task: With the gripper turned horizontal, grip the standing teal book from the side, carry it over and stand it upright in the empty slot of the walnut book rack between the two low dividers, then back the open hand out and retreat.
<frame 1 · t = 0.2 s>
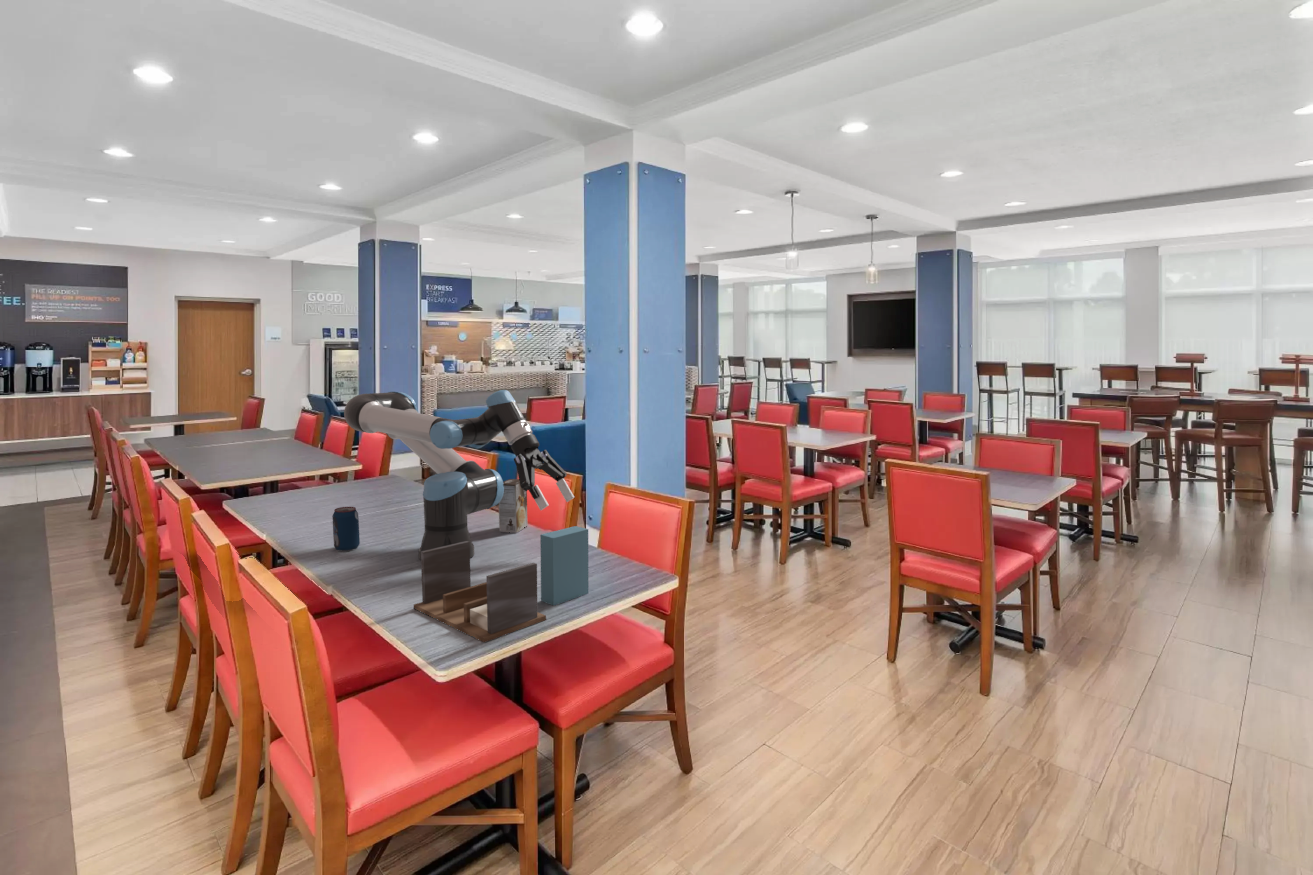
hand: (558, 503, 192), 16 cm above the table, tool tilted 35°, fingers open, 13 cm apart
book: (565, 597, 163), on the table
coffee box: (513, 529, 225), on the table
soda can: (347, 549, 201), on the table
book rack: (478, 614, 152), on the table
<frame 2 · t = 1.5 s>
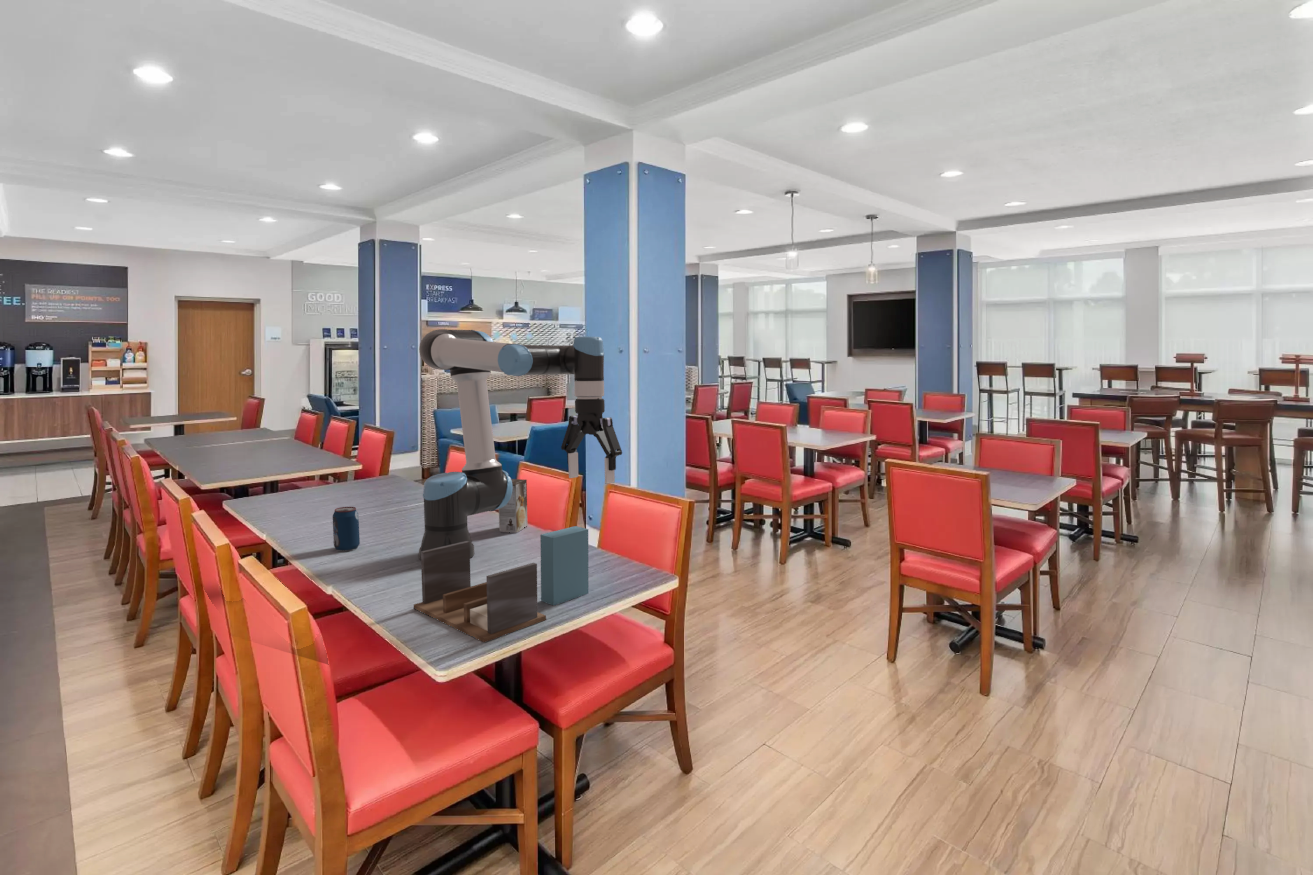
hand: (591, 480, 176), 25 cm above the table, tool pointing down, fingers open, 13 cm apart
nothing on the table moved.
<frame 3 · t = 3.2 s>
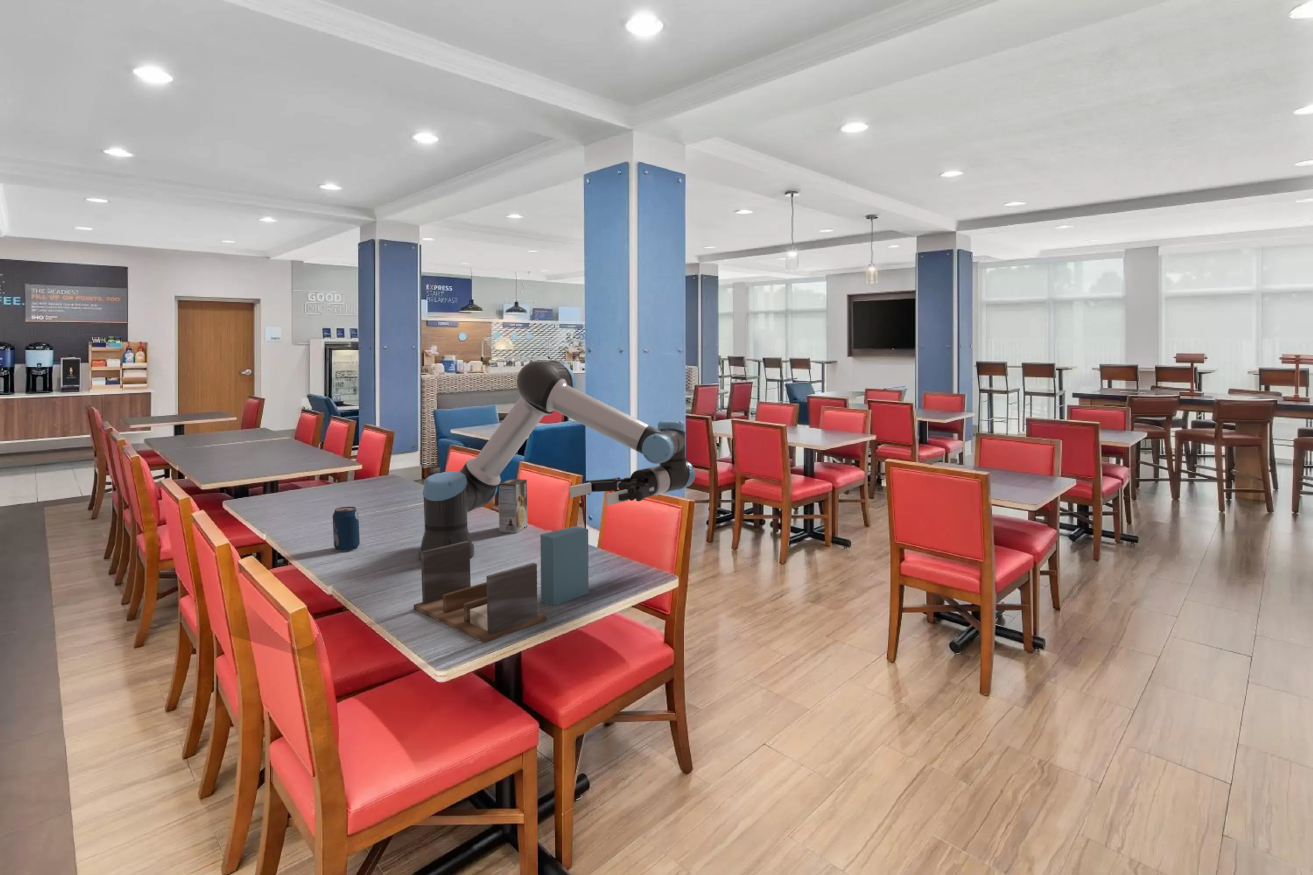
hand: (588, 495, 167), 23 cm above the table, tool horizontal, fingers open, 13 cm apart
nothing on the table moved.
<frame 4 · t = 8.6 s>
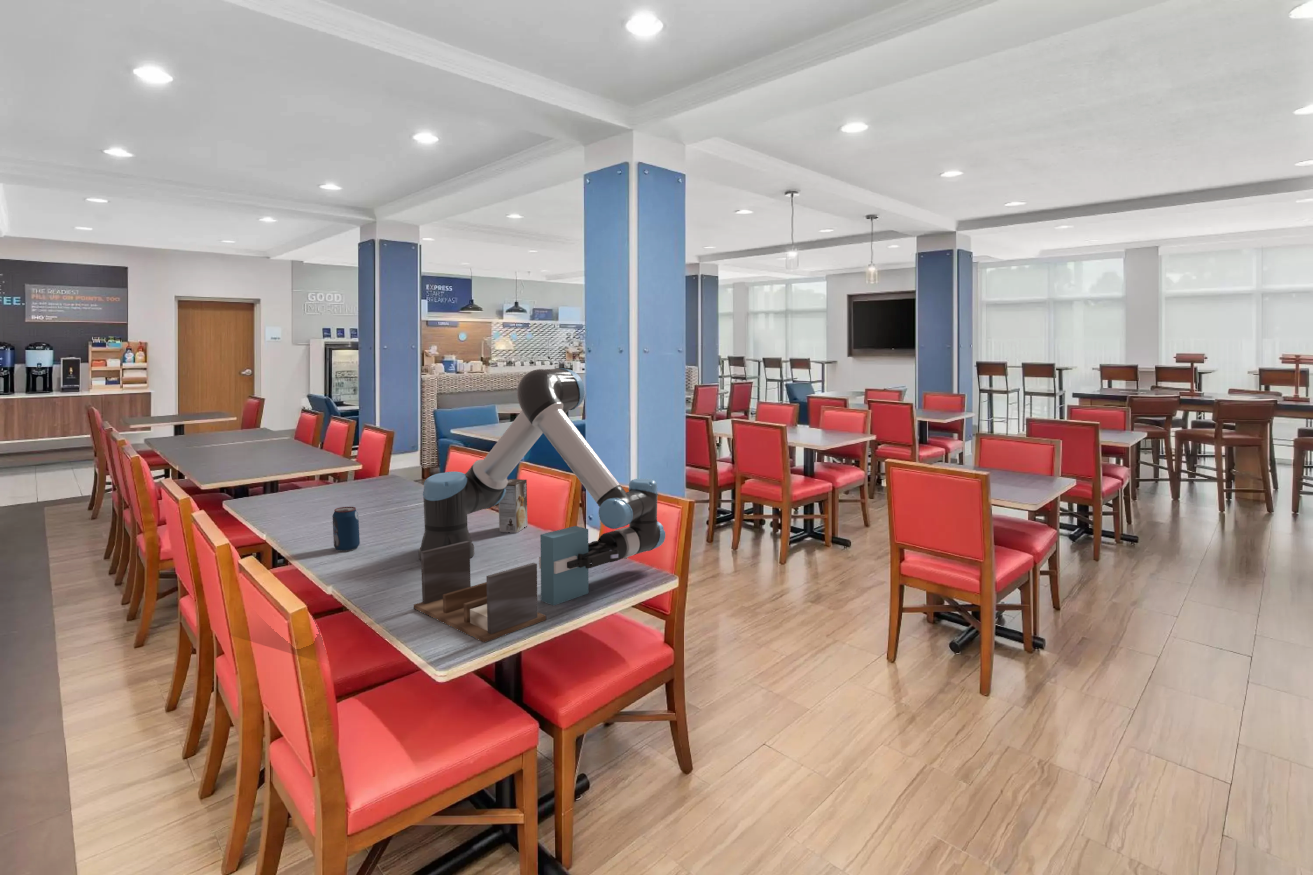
hand: (547, 565, 158), 9 cm above the table, tool horizontal, fingers closed on book, 4 cm apart
book: (565, 596, 163), on the table, touching gripper
everything else where it was.
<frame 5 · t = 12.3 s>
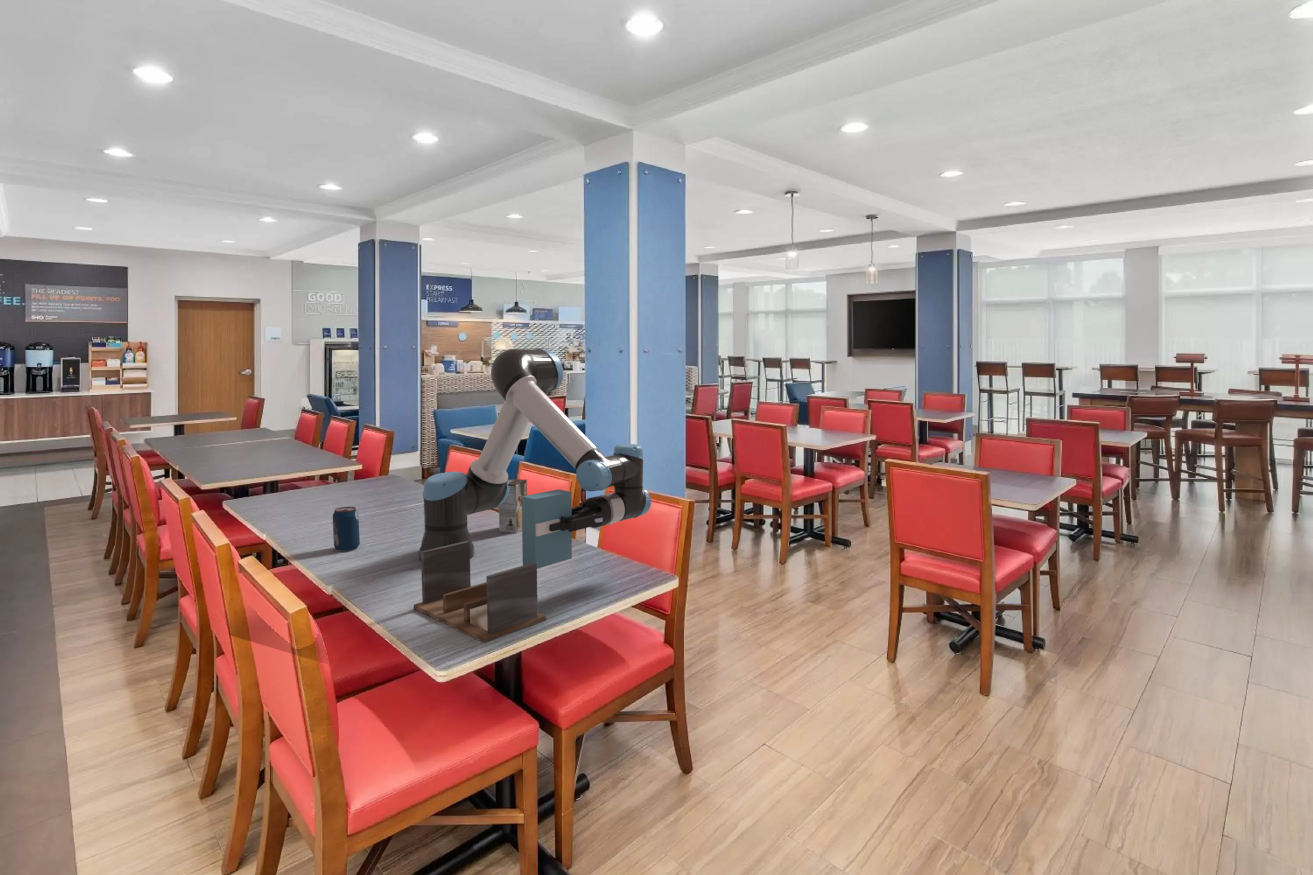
hand: (529, 527, 153), 19 cm above the table, tool horizontal, fingers closed on book, 4 cm apart
book: (547, 561, 158), point 10 cm above the table, touching gripper
everything else where it was.
when the fingers open (11 cm above the table, at t = 15.8 s): book stays where it is, resting on book rack.
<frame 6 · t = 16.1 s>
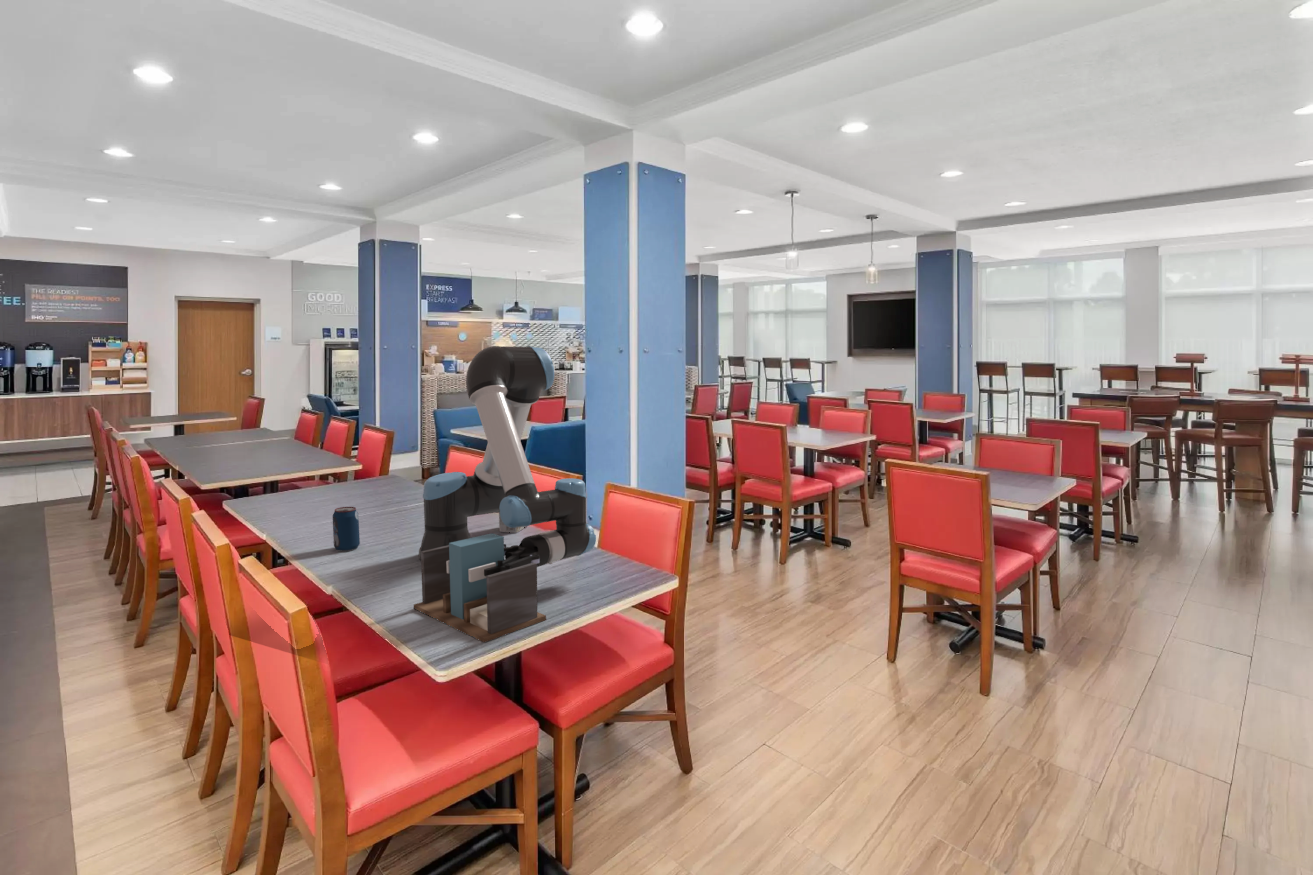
hand: (458, 571, 147), 11 cm above the table, tool horizontal, fingers open, 8 cm apart
book: (478, 609, 152), point 1 cm above the table, touching book rack
everything else where it was.
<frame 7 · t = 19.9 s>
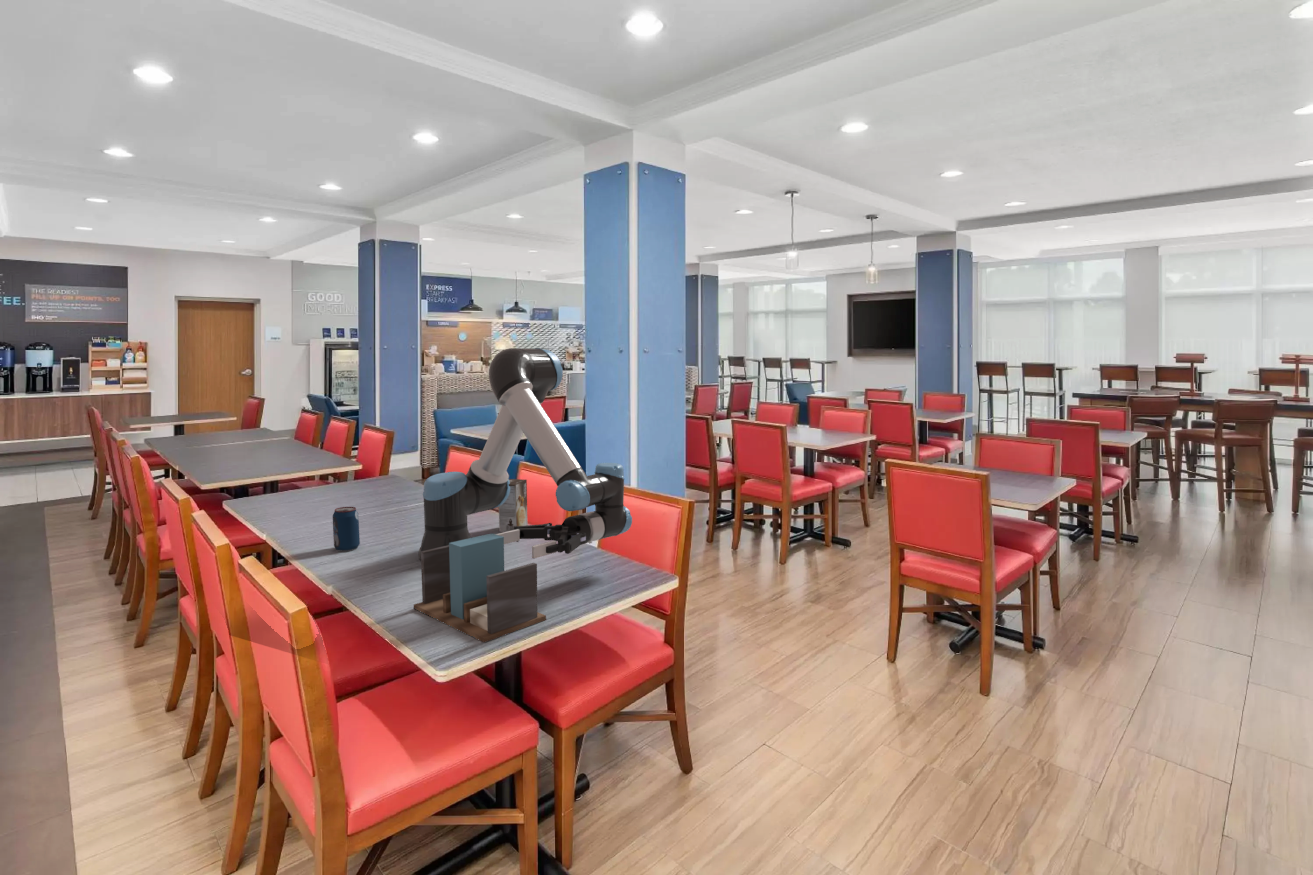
hand: (514, 546, 158), 14 cm above the table, tool horizontal, fingers open, 13 cm apart
nothing on the table moved.
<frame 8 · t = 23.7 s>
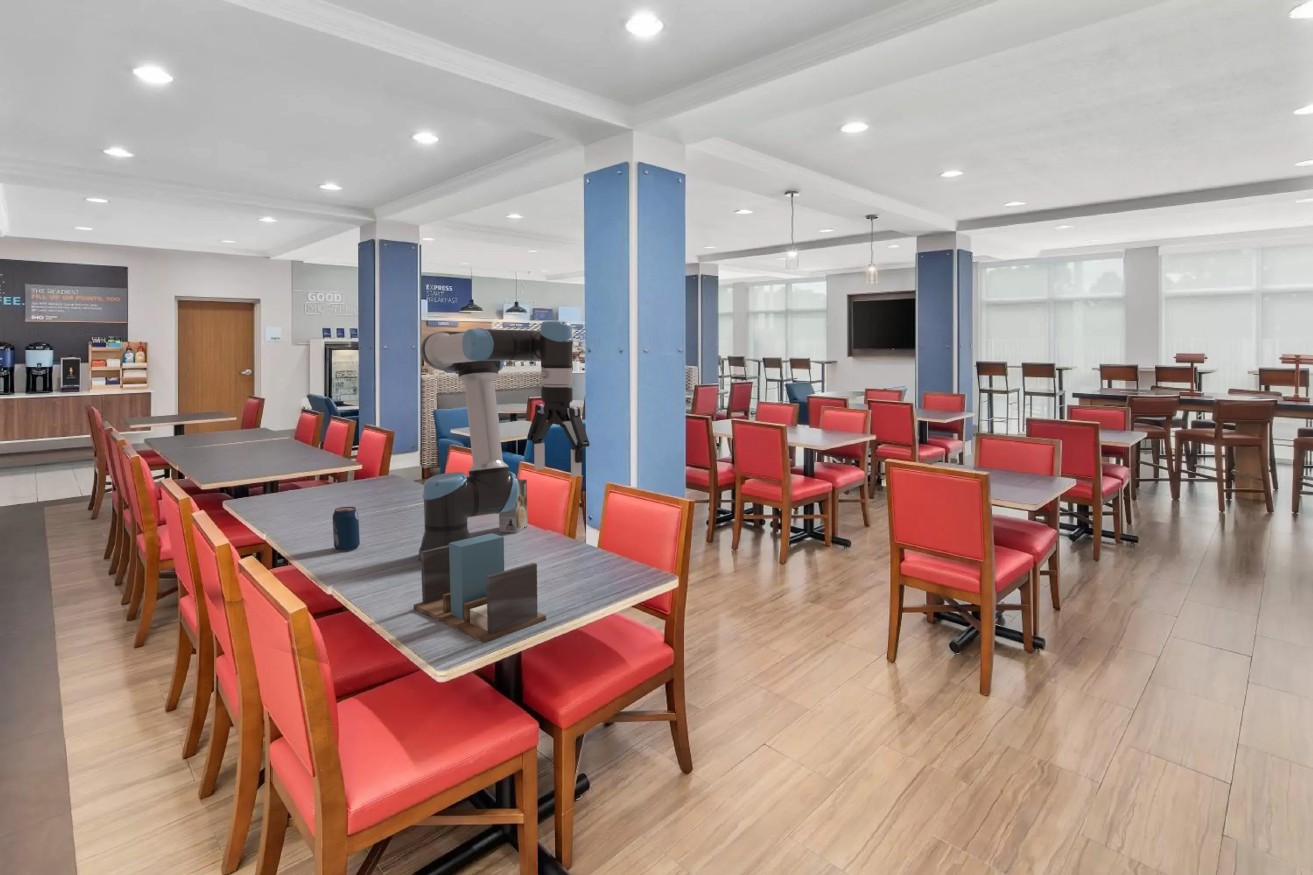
hand: (557, 472, 168), 29 cm above the table, tool pointing down, fingers open, 13 cm apart
nothing on the table moved.
at the end: book 0.0 cm off-centre on the book rack, point 1.0 cm above the book rack's base; book tilted 0°; the gripper is holding nothing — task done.
